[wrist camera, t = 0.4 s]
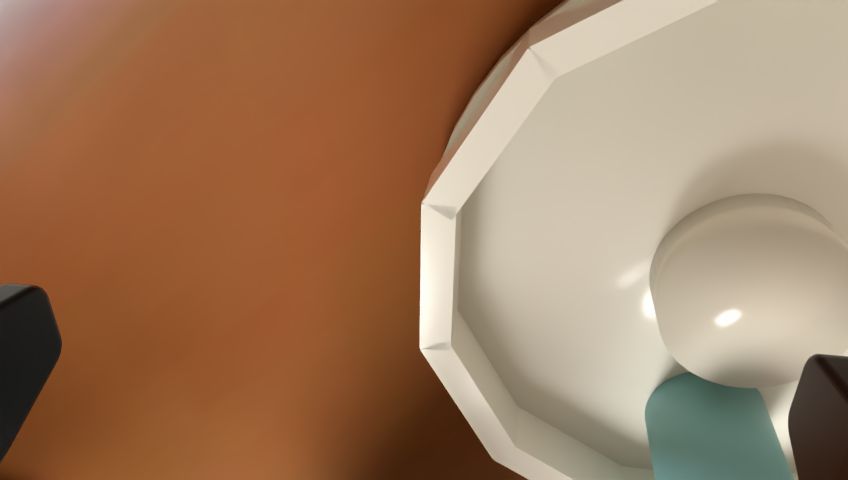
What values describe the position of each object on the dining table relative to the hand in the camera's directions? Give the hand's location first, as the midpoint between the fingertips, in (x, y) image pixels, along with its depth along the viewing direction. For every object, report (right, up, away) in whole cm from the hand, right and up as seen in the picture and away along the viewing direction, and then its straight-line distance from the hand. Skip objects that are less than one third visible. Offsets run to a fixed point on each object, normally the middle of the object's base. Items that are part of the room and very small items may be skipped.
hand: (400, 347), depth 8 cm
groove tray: (+10, +1, +14) cm, 18 cm away
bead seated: (+10, -5, +16) cm, 20 cm away
